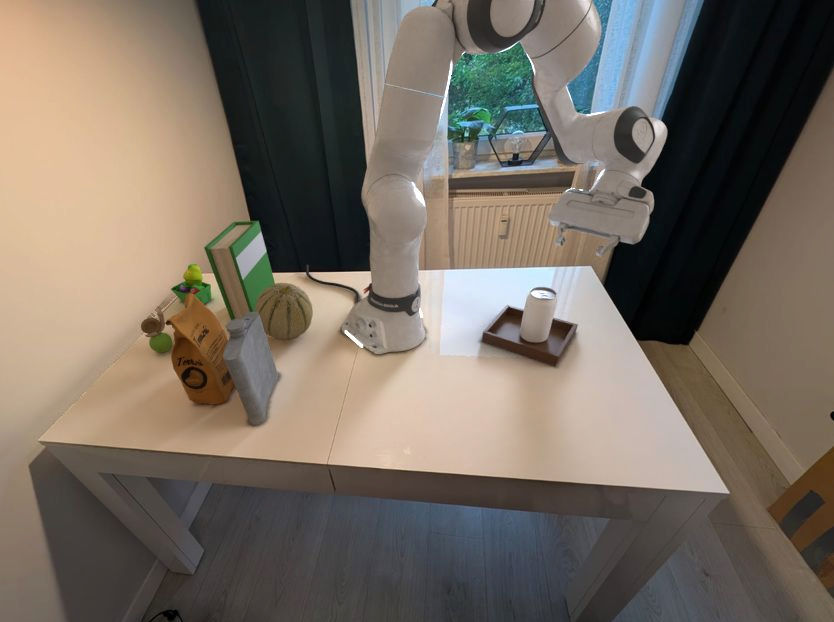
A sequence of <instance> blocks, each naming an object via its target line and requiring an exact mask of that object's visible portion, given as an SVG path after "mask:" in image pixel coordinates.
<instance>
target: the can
mask: <svg viewBox="0 0 834 622" xmlns="http://www.w3.org/2000/svg"><path fill="white" fill-rule="evenodd" d="M557 297H558V293H557V292H556V290H555V289H553V288H550V287H547V286H534V287H532V288H531V289H530V290H529V293H527V295H526V299H525V303H524V308H523V309H524V312H523V317H522V322H521V328H520V336H521V337H522V338H523V339H524V340H525V341H527V342H531V343H541V342H543V341H545V340H546V339H547V338H548V335H549V331H550V328H551V324H552V320H553V318H554V315H555V312H556V309H557V304H558V298H557Z"/></svg>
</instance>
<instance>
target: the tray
mask: <svg viewBox="0 0 834 622" xmlns="http://www.w3.org/2000/svg"><path fill="white" fill-rule="evenodd" d="M523 312H524V308H519V307H517V306H512V305H509V304H506V305H505V306H504V307H503V308H502V309H501V311H500V312H499V313H498V314H497V316H495V318H494V319H493V320H492V321H491V322H490V323H489V325H488V326H487V327H486V328H485V329H484V330H483V331H482V336H481V342H483V343H484V344H485V343H486V344H489V345H491V346H495V347H497V348H500V349H503V350H506V351H509V352H512V353H515V354H519V355H521V356H524V357H527V358H530V359H533V360H535V361H536V360H537V361H538V362H542V363H544V364H548V365H550V366H554V367H557V366H558V364H559V362H560V360H561V359H562V357H563V355H564V354H565V352H566V350H567V348H568V347H569V345H570V343H571V342H572V340H573V339H574V336H575V335H576V332H577V330H578V326H579V324H578V323H574V322H571V321H569V320H564V319H560V318H556V317H553V320H552V324H551V328H550V331H549V335H548V338H547V339H546V340H545V341H543V342H541V343H531V342H527V341H525V340H524V339H523V338H522V337H521V336H520V328H521V322H522V317H523Z"/></svg>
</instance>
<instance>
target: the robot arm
mask: <svg viewBox="0 0 834 622" xmlns="http://www.w3.org/2000/svg"><path fill="white" fill-rule="evenodd" d="M602 30H603V29H602V22H601V18H600V15H599V11H598V10H597V7H596V5H595V3H594V1H593V0H434V1H433V2H432V4H431V5H421V6H417V7H414V8H412V9H411V10H409V11H408V12H407V13H405V15H404V16H403V18H402V19H401V22H400V24H399V27H398V30H397V32H396V33H397V34H396V36H395V38H394V42H393V46H392V48H391V53H390V57H389V61H388V64H387V69H386V74H385V80H384V84H383V85H384V86H383V90H382V91H383V92H382V97H381V103H380V109H379V115H378V121H377V126H376V131H375V137H374V140H373V144H372V148H371V152H370V155H369V158H368V163H367V166H366V171H365V175H364V179H363V183H362V187H361V203H362V206H363V208H364V210H365V213H366V216H367V219H368V225H369V240H370V241H369V267H370V279H371V282H370V283H369V284H368V285H367V286H366V287H365V288H364V289H362V291H363V294H364V295H365V294H368V295H366V296H365V297H363V298H361V297H360V294H359V291H358V290H357V289H356V288H353V287H351V286H348V285H345V284H343V283H337V282H331V281H323V280H321V279H318V278H315V277H313V276H311V274H310V269H309V267H310V265H309V264H308V263H307V264H306V265H305V274H306V276H307V278H308V279H309V280H311V281H313V282H315V283H318V284H321V285H323V286H324V285H325V286H331V287H338V288H342V289H345V290H347V291H351V292H352V293H353V294H355V299H356V302H355V304H354V305H352V307H351V309H350V311H349V317H348V318H347V319H346V320H345V321H344V322H343V324H342V326H341V332H342V333H343V334H344V335H345V336H347V337H349V338H350V339H351V340H352V341H353V342H354V343H356V344H357V345H358V346H359V347H360V348H366V349H367V350H368V351H370V352H372V353H373V354H375V355H383V354H386V353H390V352H391V353H392V352H395V353H397V352H405V351H409V350H412V349H415V348H416V347H418V346H419V345H421V344H422V343H423V341H424V340H425V338H426V331H425V327H424V325H423V322H422V318H423V317H424V315H423V312H422V310H421V300H422V292H421V291H422V290H421V283H420V282H419V280H420V250H421V245H422V239H423V234H424V231H425V230H426V228H427V224H428V210H427V205H426V201H425V199H424V195H423V194H422V193H421V192H420V190H419V189H418V188H417V183H418V178H419V176H420V173H421V171H422V169H423V166H424V164H425V161H426V160H427V157H428V155H429V154H430V153H431V151H432V150H433V148H434V146H435V142H436V139H437V135H438V130H439V126H440V124H441V123H440V122H441V118H442V114H443V111H444V107H445V103H446V99H447V98H446V97H447V95H448V91H449V86H450V81H451V77H452V76H451V75H452V74H453V72H454V69H455V67H456V65H457V63H458V62H459V60H460V59H461V58H462V56H463V55H464V54H469V55H473V56H476V55H487V54H499V53H502V52H505V51H507V50H509V49H511V48H512V47H514V46H515V45H517V44H518V43H520V45H521V47H522V49H523V51H524V53H525V55H526V56H527V58H528V59H529V61H530V63H531V65H532V73H531V77H530V78H531V79H530V82H531V83H530V84H531V89H532V93H533V96H534V99H535V101H536V103H537V106H538V108H539V110H540V113H541V115H542V118H543V120H544V122H545V124H546V127H547V129H548V131H549V133H550V136H551V138H552V143H553V149H554V153H555V156H556V158H557V159H558V160H559V162H560V163H561V164H563V165H564V166H568V167H570V166H571V167H572V166H577V165H584V164H589V163H599V162H602V163H603V164H604V169H603V170H602V171H601V172H600V173H599V175H597V178H596V179H595V181H594V183H593V184H592V186H591V187H590V189H578V188H577V187H576V188H575V187H573V188H572V187H571V188H570V189H567V190H564V191H562V193H561V195H560V196H559V198H558V200H557V201H556V203H555V204H554V205H553V207H552V208H551V210H550V211H549V212H548V215H547V216H548V221H549V223H550V225H551V226H553V227H557V236H556V238H555V240H554V244H555V245H556V246H560V247H563V246H564V243H565V242H566V238H565V236H563V233H566V232H567V230H569V231H570V230H571V231H575V232H579V233H583V234H586V235H592V236H596V237H599V238H604V239H608V240H609V241H608V242H607V243H605V244H604V245H598V247H597V249H596V250H595V252H594V254H595V256H596V257H597V256H598V257H601V258H603V257H604V256H605V255H606V253H607V252H608V251H609V250H611V249H613V248H614V247H616V246H617V245H618V244H619V242H621V243H625V244H628V245H629V244H630V245H635V244H637V243H639V242H641V240H642V239H643V237H644V235H645V234H646V231H647V229H648V227H649V224H650V215H651V214H652V212H653V211H654V208H655V207H654V206H655V199H654V198H655V197H654V194H653V192H652V191H651V190H649V189H646V188H645V187H642V182H643V180H644V178H645V177H646V176H647V175H648V174H649V173H650V172H651V170H652V168H653V167H654V166H655V165H656V162H657V160H658V158H659V157H660V154H661V152H662V151H663V148H664V145H665V144H666V140H667V138H668V128H667V126H666V125H665V123H664V122H663V121H662V120H661V119H659V118H656V117H653V116H649V115H647V113H646V111H644V110H643V109H642V108H641V107H639V106H636V105H632V106H624V107H619V108H614V109H610V110H606V111H601V112H595V113H591V114H589V113H588V114H584V113H582V112H581V113H580V112H579V111H577V110H576V107H575V105H574V102H573V100H572V97H571V94H570V91H569V88H568V85H569V84H570V83H571V82H573V81H574V80H575V79H576V78H577V77H578V76H580V74H581V73H582V72H583V71H584V70H585V69H586V67H587V66H588V65H589V63H590V62H591V61H592V59H593V57H594V55H595V54H596V52H597V51H598V47H599V45H600V42H601V37H602Z"/></svg>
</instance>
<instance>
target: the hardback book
mask: <svg viewBox="0 0 834 622" xmlns="http://www.w3.org/2000/svg"><path fill="white" fill-rule="evenodd" d="M261 228H262V227H261V225H260V221H259V220H244V221H233V222H231V223H230V225H228V226H227V227H226V228H224V230H222V231H221V232H220V233H219V234H218V235H216V236H215V237H214V238H213V239H212V240H210V241H209V242H208V243H207V244H206V245H205V246H204V247H203V248H204V251H205V253H206V256H207V260H208V262H209V264H210V268H211V270H212V272H213V275H214V278H215V281H216V284H217V286H218V289H219V292H220V294H221V295H220V296H221V297H222V300H223V302H224V305H225V308H226V311H227V314H228V316H229V319H230V321H231V320H234V319H242V318H243V317H244V316H245V315H246V314H247V313H249V312H255V311H256V302H257V299H258V297H259V295H260V294H261V293H262V292H263V291H264V290H265V289H266V288H268V287H270V286H271V285H273V284H276V281H275V278H274V274H273V270H272V266H271V262H270V260H269V255H268V252H267V247H266V244H265V240H264V237H263V233H262V229H261Z"/></svg>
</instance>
